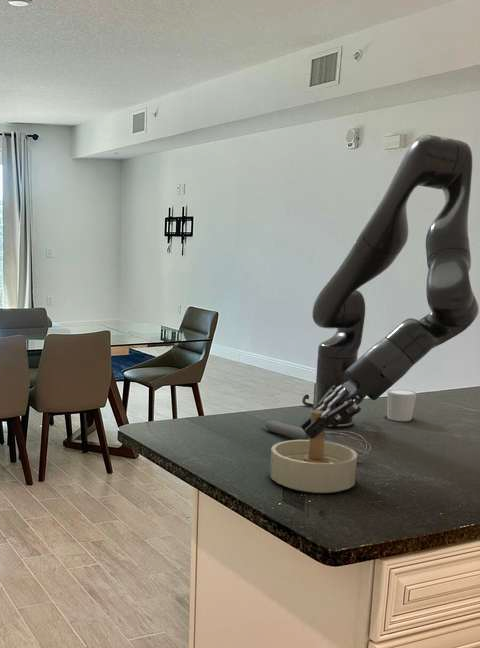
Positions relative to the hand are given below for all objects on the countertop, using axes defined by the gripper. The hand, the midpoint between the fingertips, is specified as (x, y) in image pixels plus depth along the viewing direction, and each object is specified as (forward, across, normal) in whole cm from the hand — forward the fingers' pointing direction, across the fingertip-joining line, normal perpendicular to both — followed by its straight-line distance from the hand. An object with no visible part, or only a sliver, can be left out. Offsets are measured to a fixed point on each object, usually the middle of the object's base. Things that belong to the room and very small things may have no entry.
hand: (306, 432), depth 132 cm
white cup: (-17, -52, +32) cm, 63 cm away
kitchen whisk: (+3, -25, +12) cm, 28 cm away
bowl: (+6, -2, +9) cm, 11 cm away
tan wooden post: (+4, 0, +7) cm, 8 cm away
